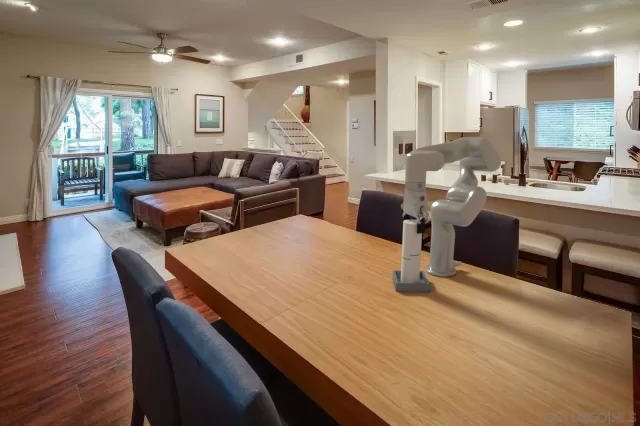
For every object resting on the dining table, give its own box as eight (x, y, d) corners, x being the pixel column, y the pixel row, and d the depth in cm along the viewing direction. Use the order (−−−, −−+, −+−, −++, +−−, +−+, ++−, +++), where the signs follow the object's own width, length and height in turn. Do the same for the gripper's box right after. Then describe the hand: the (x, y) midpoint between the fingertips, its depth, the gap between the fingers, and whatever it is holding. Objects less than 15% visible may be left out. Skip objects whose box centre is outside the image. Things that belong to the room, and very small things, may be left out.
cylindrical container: (419, 286, 140) (423, 224, 134) (400, 285, 142) (403, 223, 136) (418, 279, 147) (421, 219, 141) (400, 278, 148) (403, 219, 142)
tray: (423, 278, 150) (423, 271, 149) (429, 292, 138) (429, 283, 137) (392, 278, 151) (392, 270, 150) (395, 291, 139) (396, 282, 138)
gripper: (438, 188, 128) (435, 234, 132) (411, 182, 144) (409, 223, 148) (419, 190, 126) (417, 237, 130) (394, 183, 142) (393, 225, 146)
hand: (413, 229), depth 139 cm, fingers open, 9 cm apart
